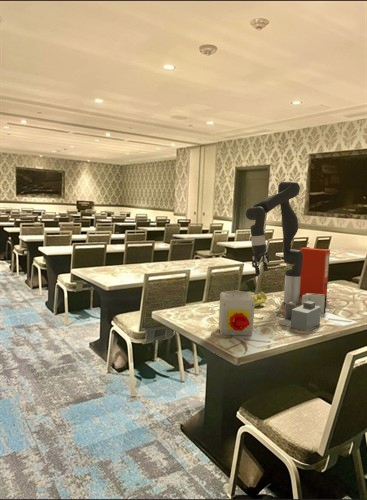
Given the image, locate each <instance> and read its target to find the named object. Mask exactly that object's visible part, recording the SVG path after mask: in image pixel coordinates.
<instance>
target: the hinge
mask: <svg viewBox="0 0 367 500" xmlns="http://www.w3.org/2000/svg"><path fill="white" fill-rule="evenodd" d="M327 296H328V295H327ZM327 296H326V295H323V294H308V293H306V295H302V296H301V305H303V303H304V302H306V301H312V302H315V306H320V307H321V313H320V314H326V311H327V310H326V309H327Z"/></svg>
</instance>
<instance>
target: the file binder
mask: <svg viewBox="0 0 367 500" xmlns="http://www.w3.org/2000/svg"><path fill="white" fill-rule="evenodd" d="M299 250H301V251H302V252H303V263H302V271H301V282H300V297H302V295H306V293H308V294H323V295H326V296H328V295H327V293H328V283H329V281H328V279H329V267H330V255H331V254H330V252H331V249H325V248H313V247H312V248H311V247H299Z"/></svg>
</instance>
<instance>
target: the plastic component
mask: <svg viewBox="0 0 367 500" xmlns="http://www.w3.org/2000/svg"><path fill="white" fill-rule="evenodd" d="M252 297H253V299H254V308H255V307H259V306H260V305H261V304H264V303H266V301H267V300H268V295H266V293H265V292H263V291H260V292H258V293H257V294H253V295H252Z"/></svg>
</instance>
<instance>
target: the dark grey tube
mask: <svg viewBox="0 0 367 500" xmlns="http://www.w3.org/2000/svg"><path fill="white" fill-rule="evenodd" d="M284 307H285V308H284V319H287V320H291V316H292V309H294V308H297V304H295V303H292V302H289V303H285V305H284Z"/></svg>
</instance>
